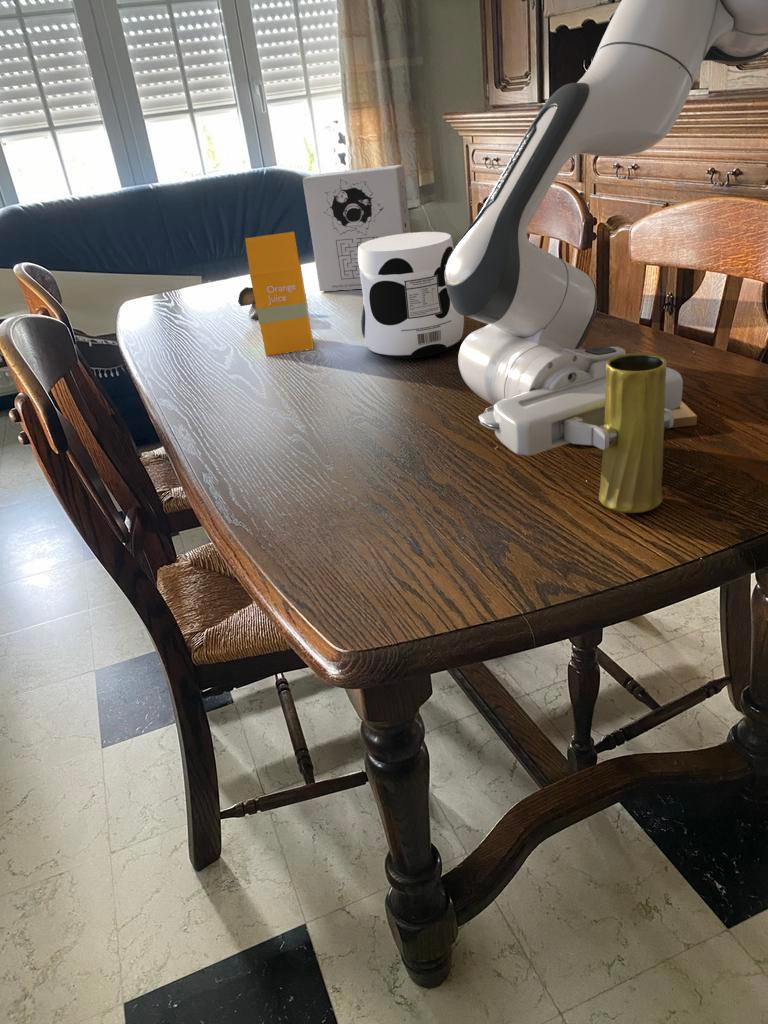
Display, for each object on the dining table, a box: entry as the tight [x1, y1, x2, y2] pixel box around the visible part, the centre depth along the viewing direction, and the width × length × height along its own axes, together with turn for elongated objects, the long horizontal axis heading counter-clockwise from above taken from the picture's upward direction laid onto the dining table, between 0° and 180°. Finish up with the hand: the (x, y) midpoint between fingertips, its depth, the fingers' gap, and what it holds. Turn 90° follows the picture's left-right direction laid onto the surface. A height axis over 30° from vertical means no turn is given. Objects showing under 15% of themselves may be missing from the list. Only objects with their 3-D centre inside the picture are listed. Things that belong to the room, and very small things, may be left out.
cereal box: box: [302, 164, 411, 292], centre depth 171 cm, size 22×8×25 cm, turn 77°
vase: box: [598, 352, 668, 514], centre depth 71 cm, size 6×6×14 cm
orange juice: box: [244, 231, 314, 357], centre depth 134 cm, size 8×9×20 cm
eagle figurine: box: [237, 286, 259, 322], centre depth 163 cm, size 8×7×9 cm
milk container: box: [358, 231, 465, 360], centre depth 124 cm, size 17×17×18 cm
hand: (640, 431), depth 70 cm, fingers closed on vase, 5 cm apart
